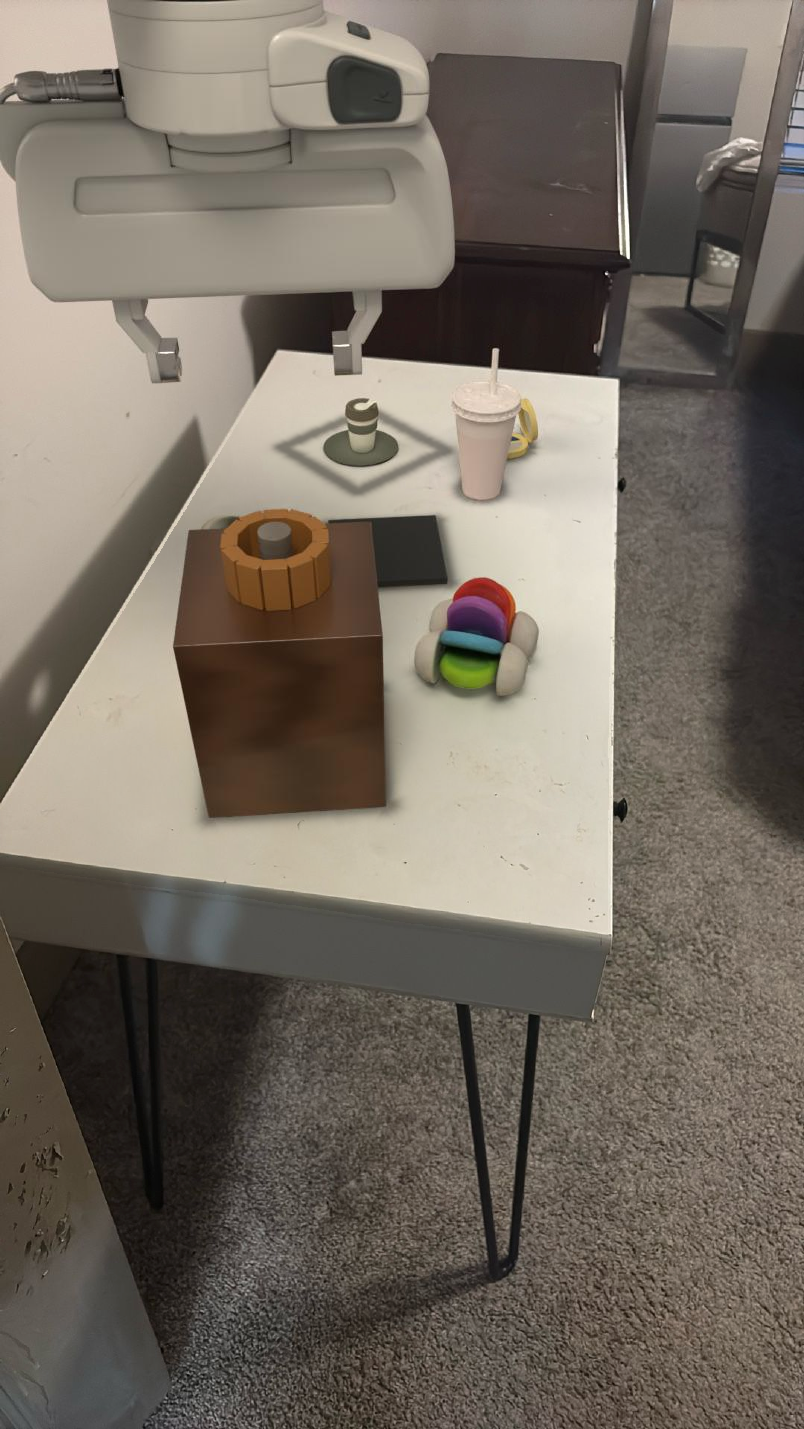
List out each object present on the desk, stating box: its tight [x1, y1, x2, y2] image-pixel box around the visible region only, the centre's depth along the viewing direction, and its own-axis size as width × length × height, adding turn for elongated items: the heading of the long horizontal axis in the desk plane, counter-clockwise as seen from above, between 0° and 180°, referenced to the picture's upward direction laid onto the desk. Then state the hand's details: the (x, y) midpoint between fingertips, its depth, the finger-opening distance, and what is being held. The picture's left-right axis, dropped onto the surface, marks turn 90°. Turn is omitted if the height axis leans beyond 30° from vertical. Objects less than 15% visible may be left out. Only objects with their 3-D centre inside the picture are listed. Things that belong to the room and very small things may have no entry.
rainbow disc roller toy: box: [413, 576, 540, 696], centre depth 76 cm, size 8×10×7 cm
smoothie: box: [450, 347, 522, 501], centre depth 93 cm, size 6×6×14 cm
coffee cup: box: [322, 397, 399, 467], centre depth 102 cm, size 12×12×5 cm
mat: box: [327, 514, 448, 588], centre depth 89 cm, size 10×10×1 cm
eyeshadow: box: [507, 397, 539, 459], centre depth 102 cm, size 4×5×5 cm
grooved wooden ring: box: [220, 508, 332, 611], centre depth 60 cm, size 6×6×3 cm
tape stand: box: [172, 522, 387, 818], centre depth 65 cm, size 12×12×18 cm
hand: (258, 374), depth 52 cm, fingers open, 8 cm apart
